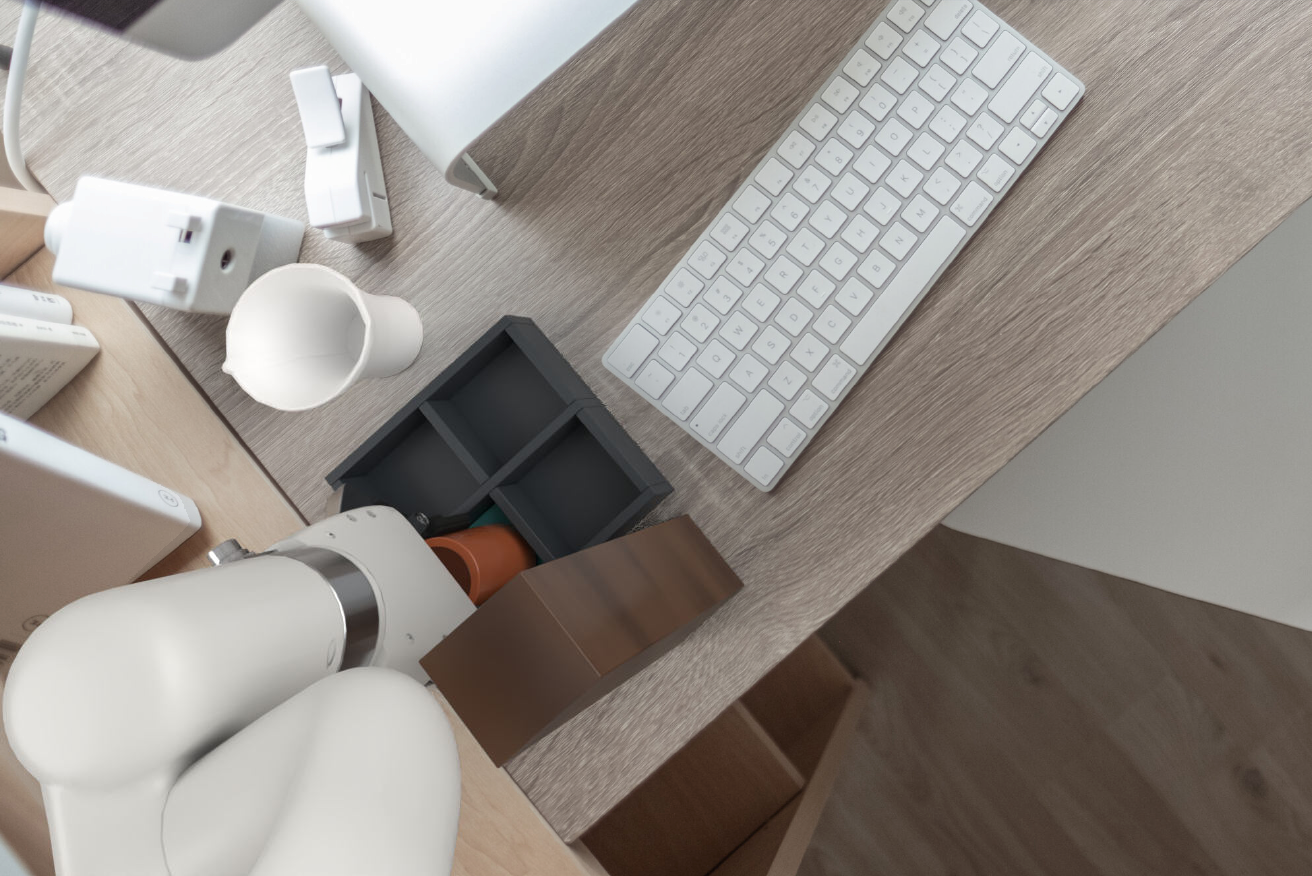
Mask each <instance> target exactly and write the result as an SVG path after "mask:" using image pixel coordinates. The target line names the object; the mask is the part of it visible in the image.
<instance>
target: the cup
mask: <svg viewBox="0 0 1312 876" xmlns="http://www.w3.org/2000/svg"><path fill="white" fill-rule="evenodd" d="M423 342H424V324H423V322H422V320H421V316H420V314H419V312H418V310H417V309H416V308H415V307H414V306H413V305H412V304H411V303H410V302H408V301H406V300H404V299H403V298H401V297H400V296H394V295H389V294H388V295H387V294H375V295H374V294H371V293H369V292H366V291H364V290H362V289H360V288H358V287H357V286H356V284H354V282H353V281H352V280H351V279H350V278H349V277H348V276H346V275H344V274H342V273H341V272H339V271H337V270H335V269H333V268H331V267H330V266H326V265H323V264H320V263H307V262H306V263H303V262H292V263H289V264H286V265H281V266H278V267H275V268H272V269H271V270H269V271H267V272H265V273H264V274H262V275H261V276H259V277H258V278H256V279H255V280H254V281H253V282H251V284H250V285H248V287H247V288H246V289H245V290H244V291H243V293H241V295H240V297H239V298H238V300H237V302H236V304H235V305H234V306H233V309H232V311H231V314H230V316H229V320H228V323H227V326H226V329H225V348H226V350H225V352H226V357H225V361H224V362H223V363H222V366H221V369H222V372H223V373H225V374H227V375H231V376H232V378H233V379H234V380H235V382H236V383H237V385H239V387H240V388H241V389H242V390H243V391H244V392H245V393H246V394H248V395H249V396H250V397H251V398H252V399H254V401H256V402H258V403H260V404H263V405H266V406H267V407H270V408H273V409H275V410H277V411H281V412H293V413H299V412H307V411H311V410H315V409H319V408H322V407H324V406H326V405H328V404H331V403H333V402H334V401H335V400H337V399H338V398H340V397H341V396H342V395H344V394H345V393H347V392H348V391H349V390H350V389H351V388H352V387H353V386H354V384H357V383H358V382H360V381H361V380H367V379H384V378H387V377H392V376H393V377H394V376H397V375H398V374H400V373H402V372H403V371H404V370H406V369H408V368H409V367H411V365H412V364H413V363H414V361H415V360H416V358H417V357H418V355H419V354H420V352H421V349H422V346H423Z"/></svg>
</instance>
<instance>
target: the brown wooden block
mask: <svg viewBox="0 0 1312 876" xmlns="http://www.w3.org/2000/svg"><path fill="white" fill-rule="evenodd" d="M744 587H745V584H744V582H743V581H742V579H740V577H739V576H738V575H737V573H736V572H735V571H734V570H733V568H732V567H731V566H730V564H728V562H727V561H726V560H725V558H724V557H723V556H722V555H721V554H720V552H719V551H718V550H717V549H716V547H715V546H714V545H713V544H712V542H711V541H710V539H709V538H708V537H707V536H706V535H705V533H704V532H703V531H702V529H700V527H699V526H698V525H697V524H696V522H695V521H694V520H693V519H692V518H691V516H690V515H689V513H686V514H683V515H679V516H677V517H674V518H671V519H668V520H665V521H662V522H660V523H657V524H653V525H651V526H648V527H645V528H642V529H639V530H637V531H634V532H631V533H627V534H626V535H625V536H622V537H619V538H616V539H613V540H611V541H608V542H605V543H602V544H599V545H596V546H593V547H590V548H588V549H585V550H582V551H579V552H576V553H573V554H570V555H567V556H565V557H562V558H559V559H556V560H553V561H550V562H547V563H544V564H542V565H539V566H536V567H533V568H530V569H527V570H524V571H521V572H519V573H518V574H517V575H516V576H515V577H513V578H512V579H511V580H510V581H509V582H508V583H507V584H506V585H504V586H503V587H502V588H501V589H500V590H499V591H498V592H496V593H495V594H494V595H493V596H492V597H491V598H490V599H488V600H487V601H486V602H485V603H484V604H483V605H482V606H480V607H479V608H478V609H477V610H476V611H475V612H474V613H472V614H471V615H470V616H469V617H468V618H467V619H466V620H464V621H463V622H462V623H461V624H460V625H459V626H458V627H456V628H455V629H454V630H453V631H452V632H451V633H450V634H449V635H447V636H446V637H445V638H444V639H443V640H442V641H441V642H439V643H438V644H437V645H436V646H435V647H434V648H433V649H431V650H430V651H429V652H428V653H427V654H426V655H425V656H423V657H422V658H421V659H420V660H419V664H420V665H421V666H422V668H423V669H424V670H425V672H426V673H427V674H428V676H429V677H430V678H431V680H432V681H433V682H434V684H435V685H436V688H437V690H438V691H439V692H440V693H441V695H442V696H443V697H444V699H445V700H446V701H447V703H448V704H449V705H450V707H451V708H452V710H453V711H454V712H455V714H456V715H457V716H458V717H459V719H460V721H461V722H462V724H464V726H465V727H466V729H467V730H468V731H469V733H470V734H471V735H472V737H473V738H474V739H475V740H476V742H477V744H478V745H479V746H480V747H481V748H482V750H483V752H484V753H485V754H486V755H487V757H488V758H489V759H490V761H491V763H493V765H494V766H495V767H496V769H501V768H502V767H503V766H505V765H506V764H508V763H509V762H511V761H512V760H513V759H515V758H516V757H518V756H520V755H521V754H522V753H524V752H525V751H527V750H528V749H530V748H532V746H534V745H536V744H537V743H539V742H540V741H542V740H543V739H544V738H545V737H547V736H549V735H550V734H551V733H552V732H554V731H556V730H557V729H559V728H560V727H561V726H563V725H564V724H566V723H568V722H569V721H570V720H573V718H575V717H577V716H578V715H580V713H582V712H584V711H585V710H586V709H588V708H590V707H591V706H593V705H594V704H595V703H597V702H599V700H601V699H603V698H604V697H606V696H607V695H608V694H610V693H611V692H613V691H614V690H616V689H617V688H618V687H620V686H622V685H623V684H624V683H626V682H627V681H629V680H630V679H632V678H633V677H634V676H636V675H638V674H639V673H641V672H642V671H643V670H645V669H646V668H648V667H649V666H650V665H652V664H654V663H655V662H656V661H658V660H660V659H661V658H662V657H664V656H665V655H667V654H668V653H670V652H671V651H672V650H674V649H676V648H677V647H678V646H679V645H680V644H681V643H682V642H683V641H685V640H686V639H687V638H688V637H689V636H690V635H691V634H692V633H694V632H695V631H696V630H697V629H698V628H699V627H700V626H701V625H703V624H704V622H706V621H707V620H708V619H709V618H711V617H712V616H713V615H714V614H715V613H716V612H718V610H719V609H721V607H723V606H724V605H725V604H727V602H728V601H729V600H731V598H733V597H734V596H735V595H736V594H737V593H739V592H740V590H742V589H743V588H744Z"/></svg>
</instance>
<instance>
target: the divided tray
mask: <svg viewBox="0 0 1312 876" xmlns="http://www.w3.org/2000/svg"><path fill="white" fill-rule="evenodd" d="M534 321H535V320H533V319H532V318H531V317H527V316H519V315H512V314H504V315H503V316H502V317H501V318H500V319H498V321H497V322H495V324H493V325H492V326H491V327H490V328H489V329H488V330H487V331H485V332H484V333H483V334H482V335H481V336H480V337H479V338H478V339H476V340H475V342H473V343H472V344H471V345H470V346H468V347H467V349H466V350H464V351H463V352H462V353H461V354H460V355H459V356H458V357H457V358H455V359H454V360H453V361H452V362H451V363H450V364H449V365H448V366H447V367H445V368H444V370H442V371H441V372H440V373H439V374H438V375H437V376H436V377H435V378H433V379H432V380H431V381H430V382H429V383H428V384H426V385H425V386H424V387H423V388H422V389H421V390H420V391H419V392H418V393H417V394H415V396H413V397H412V398H411V399H410V400H409V401H408V402H407V403H405V405H403V406H402V407H401V408H400V409H399V410H398V411H397V412H396V413H395V414H394V415H392V416H391V417H390V418H389V419H388V420H387V421H385V423H384V424H382V425H381V426H380V427H379V428H378V429H377V430H376V431H375V432H373V433H372V434H371V435H370V436H369V437H367V439H366V440H365V441H363V442H362V443H361V444H360V445H359V446H358V447H357V448H356V449H354V450H353V451H352V452H351V453H350V454H349V455H347V457H346V458H345V459H343V461H341V462H340V463H339V464H338V465H337V466H336V467H335V468H333V470H331V471H330V472H329V473H328V474H327V475H326V476H325V477H324V480H325V481H326V483H328V485H329V486H331V489H332V490H333V491H334V492H335V491H336V490H337V489H338V488H339V487H341V486H342V485H343V484H344V483H348V484H350V485H352V486H354V487H355V488H357V489H358V490H360V491H362V492H363V493H365V494H366V495H368V496H370V497H371V498H372V501H373V502H375V503H376V502H377V501H378V500H381V501H384V502H386V503H389V504H390V505H391V506H393V507H395V508H396V509H398V510H400V511H402V512H403V513H405V514H407V515H409V516H410V515H411V514H412V513H413V512H414V511H420V512H422V513H423V514H424V515H425V516H426V517H432V516H436V515H441V516H442V517H443V518H444V517H448V516H452V515H457V514H461V513H466V514H467V516H468V517H469V518H470V521H469V522H470V524H469V525H468V526H467V527H466V528H465V529H469V528H473V527H477V526H481V525H485V524H489V523H494V522H504V523H509V524H512V525H514V526H515V527H516V529H517V530H518V531H519V532H520V534H521V535H522V536H523V537H524V539H525V540H526V541H527V542H528V543H529V545H530V546H531V547H532V548H533V550H534V551H535V554H536V566H539V565H542V564H544V563H547V562H550V561H553V560H556V559H559V558H562V557H565V556H567V555H570V554H573V553H576V552H579V551H582V550H585V549H588V548H590V547H593V546H596V545H599V544H602V543H605V542H608V541H611V540H613V539H616V538H619V537H622V536H625V535H628V534H629V532H631V530H633V529H634V528H635V527H636V526H637V525H639V523H640V522H641V521H643V520H644V519H645V518H646V517H647V516H648V515H649V514H650V513H651V512H652V511H654V509H656V508H657V507H659V506H658V505H660V504H661V503H662V502H663V501H665V499H666V498H667V497H668V496H670V495H671V494H672V493H673V492H674V491H675V487H674V486H673V485H672V484H671V483H670V481H669V480H668V479H667V477H666V476H664V475H663V473H662V472H661V470H659V468H658V467H657V466H656V465H655V463H654V462H653V461H652V460H651V459H650V458H649V456H648V455H647V454H646V453H645V452H644V450H642V448H641V447H640V446H639V445H638V443H637V442H636V441H635V440H634V439H633V437H631V435H630V434H629V433H628V431H626V429H625V428H624V427H623V425H622V424H621V423H620V422H619V421H618V419H616V417H615V416H614V415H613V414H612V412H611V411H610V410H609V409H608V408H607V407H606V406H605V404H604V403H603V402H602V401H601V400H600V398H599V397H598V396H597V395H596V394H595V392H593V390H592V388H590V387H589V385H588V384H587V383H586V382H585V381H584V379H583V378H582V377H581V376H580V375H579V373H578V372H577V371H576V370H575V368H574V367H573V366H572V365H571V364H570V363H569V361H567V359H566V358H565V357H564V356H563V355H562V353H561V352H560V351H559V349H558V348H557V347H556V346H555V345H554V344H553V342H552V341H551V340H550V339H549V338H548V336H546V334H545V333H544V332H543V331H542V330H541V328H540V327H539V326H538V325H537V324H536V322H534ZM465 529H464V530H465Z"/></svg>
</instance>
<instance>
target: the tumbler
mask: <svg viewBox="0 0 1312 876" xmlns="http://www.w3.org/2000/svg"><path fill="white" fill-rule="evenodd" d="M424 541H425V542H426V543H427V545H428V546H429V547H430V548H431V550H432V551H433V552H434V554H435V555H436V556H437V557H438V559H439V560H440V561H441V562H442V564H443V565H444V566H445V567H446V569H447V570H448V571H449V573H450V574H451V575H452V576H453V578H454V579H455V580H456V582H457V583H458V584H459V585H460V587H461V588H462V589H463V591H464V592H465V593H466V595H467V596H468V597H469V599H470V600H471V601H472V603H473V604H474V605H483V604H484V603H485V602H486V601H487V600H488V599H490V598H491V597H492V596H493V595H494V594H495V593H496V592H498V591H499V590H500V589H501V588H502V587H503V586H504V585H506V584H507V583H508V582H509V581H510V580H511V579H512V578H513V577H515V576H516V575H517V574H518V573H519V572H521V571H524V570H527V569H530V568H533V567H536V554H535V551H534V550H533V548H532V547H531V546H530V545H529V543H528V542H527V541H526V540H525V539H524V537H523V536H522V535H521V534H520V532H519V531H518V530H517V529H516V527H515V526H514V525H512V524H509V523H504V522H494V523H489V524H485V525H481V526H477V527H473V528H469V529H465V530H461V531H457V532H453V533H449V534H445V535H441V536H437V537H433V538H429V539H426V540H424Z"/></svg>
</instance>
